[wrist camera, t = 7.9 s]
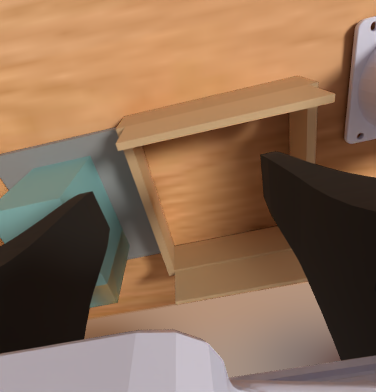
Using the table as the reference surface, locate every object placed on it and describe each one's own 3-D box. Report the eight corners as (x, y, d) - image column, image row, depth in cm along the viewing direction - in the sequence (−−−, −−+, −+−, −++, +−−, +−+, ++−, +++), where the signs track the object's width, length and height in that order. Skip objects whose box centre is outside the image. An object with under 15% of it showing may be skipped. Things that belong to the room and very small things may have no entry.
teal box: (90, 155, 19) (59, 198, 14) (129, 245, 24) (117, 302, 19) (32, 168, 20) (-18, 214, 14) (83, 255, 24) (58, 313, 19)
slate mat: (121, 125, 19) (119, 128, 18) (164, 248, 25) (164, 252, 24) (-8, 155, 20) (-12, 158, 19) (65, 267, 26) (63, 272, 25)
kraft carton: (297, 75, 18) (348, 90, 12) (297, 227, 24) (330, 277, 19) (123, 116, 19) (104, 146, 13) (169, 251, 25) (168, 306, 20)
